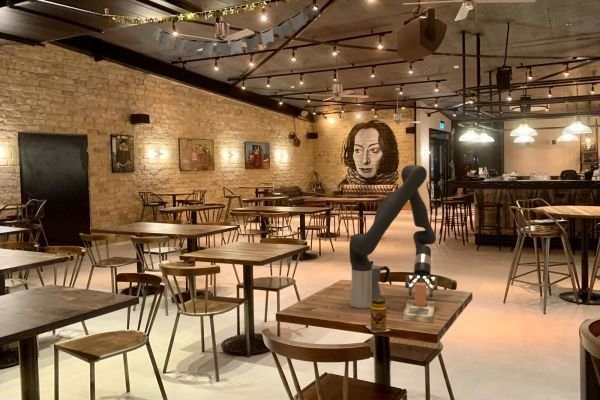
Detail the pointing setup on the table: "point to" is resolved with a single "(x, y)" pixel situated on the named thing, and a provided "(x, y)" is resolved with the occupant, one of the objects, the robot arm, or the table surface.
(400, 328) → the table surface
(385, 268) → the coffeepot
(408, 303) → the puzzle board
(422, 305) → the block
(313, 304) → the table surface
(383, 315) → the condiment
